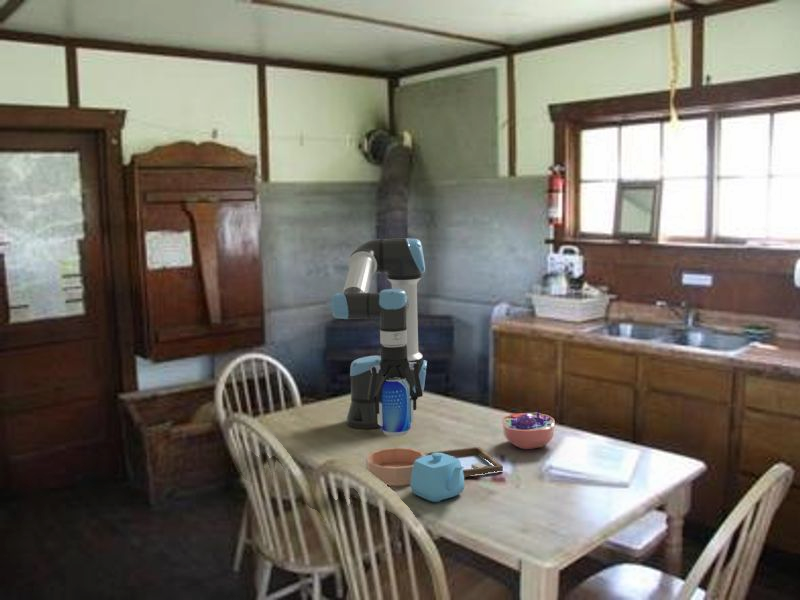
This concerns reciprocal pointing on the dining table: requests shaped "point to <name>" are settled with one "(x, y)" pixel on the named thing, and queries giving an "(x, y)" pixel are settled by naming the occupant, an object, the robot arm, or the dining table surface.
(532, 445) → the cell model
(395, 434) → the beer can
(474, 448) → the tray
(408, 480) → the dish
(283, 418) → the dining table surface
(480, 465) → the stone
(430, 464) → the teapot
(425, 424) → the dining table surface
